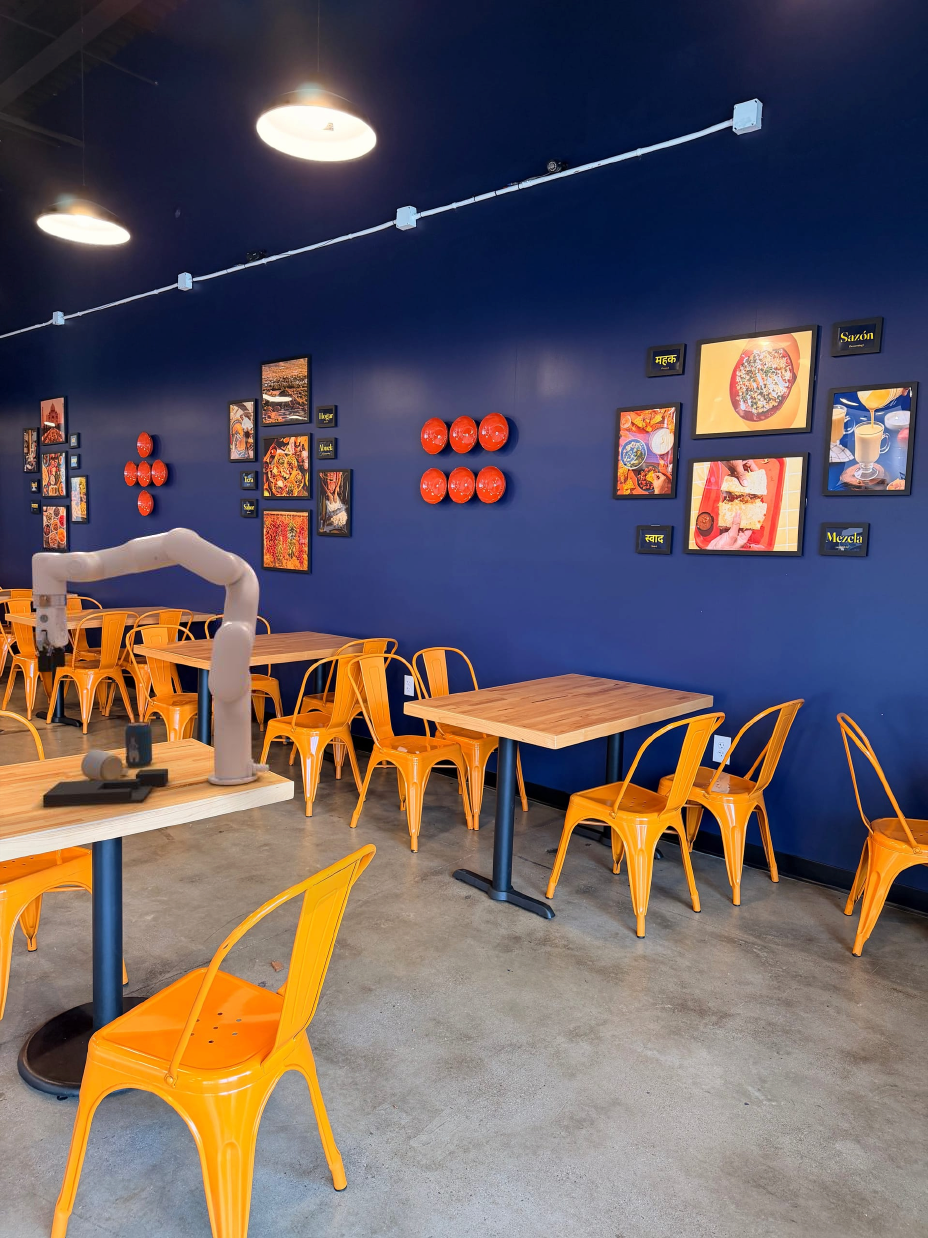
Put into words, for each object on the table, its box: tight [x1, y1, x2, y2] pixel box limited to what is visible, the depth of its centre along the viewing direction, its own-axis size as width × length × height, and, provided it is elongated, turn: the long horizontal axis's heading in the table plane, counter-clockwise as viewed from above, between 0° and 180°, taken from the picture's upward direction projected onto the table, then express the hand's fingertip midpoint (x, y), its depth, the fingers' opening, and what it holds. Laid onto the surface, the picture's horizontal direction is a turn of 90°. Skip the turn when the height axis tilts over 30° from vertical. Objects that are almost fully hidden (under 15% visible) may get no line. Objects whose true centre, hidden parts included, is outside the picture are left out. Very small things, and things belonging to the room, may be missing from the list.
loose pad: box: [135, 768, 169, 788], centre depth 205 cm, size 7×5×4 cm
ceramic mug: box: [80, 749, 129, 780], centre depth 211 cm, size 11×8×8 cm
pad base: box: [42, 778, 154, 808], centre depth 194 cm, size 22×12×3 cm, turn 100°
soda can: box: [124, 721, 153, 769], centre depth 225 cm, size 7×7×12 cm
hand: (52, 669), depth 201 cm, fingers open, 9 cm apart
